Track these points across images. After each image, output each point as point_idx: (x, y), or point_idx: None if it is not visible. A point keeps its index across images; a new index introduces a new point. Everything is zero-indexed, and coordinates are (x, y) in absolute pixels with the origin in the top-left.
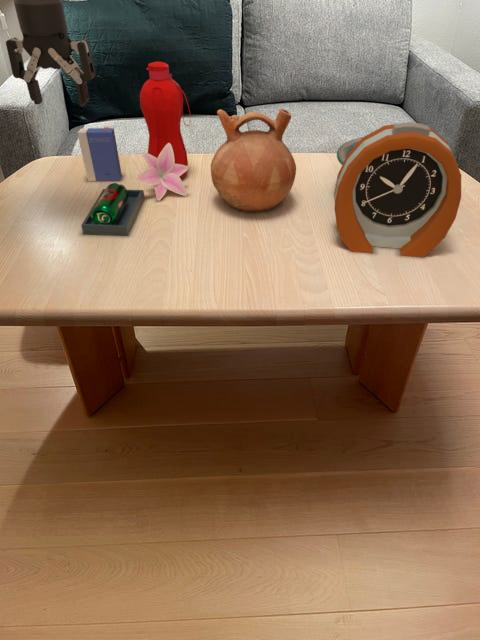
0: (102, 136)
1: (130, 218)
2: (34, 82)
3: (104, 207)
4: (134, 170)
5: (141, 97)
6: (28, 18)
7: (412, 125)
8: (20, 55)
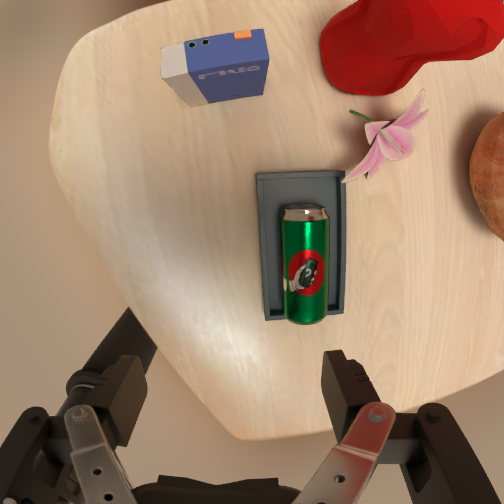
0: (238, 67)
1: (344, 286)
2: (121, 435)
3: (314, 321)
4: (277, 44)
5: (411, 13)
6: None
7: None
8: (23, 485)
